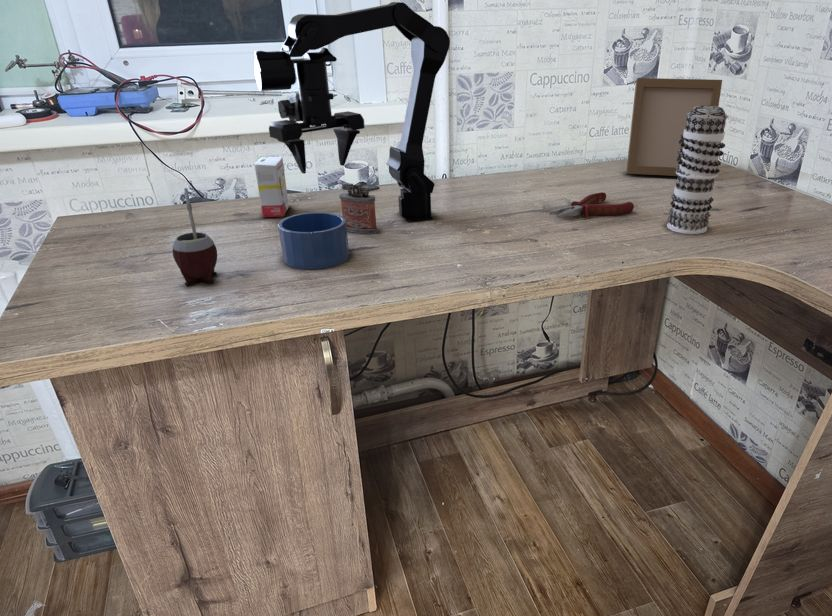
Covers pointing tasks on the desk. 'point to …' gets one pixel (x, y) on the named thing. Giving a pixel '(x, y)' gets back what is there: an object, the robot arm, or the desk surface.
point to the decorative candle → (697, 169)
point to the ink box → (272, 186)
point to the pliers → (593, 207)
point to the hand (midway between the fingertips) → (323, 169)
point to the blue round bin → (314, 240)
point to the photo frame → (664, 120)
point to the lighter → (358, 208)
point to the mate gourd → (195, 253)
